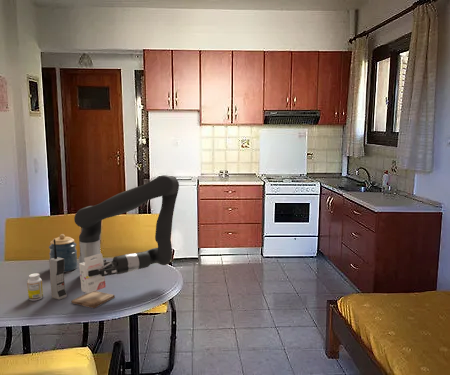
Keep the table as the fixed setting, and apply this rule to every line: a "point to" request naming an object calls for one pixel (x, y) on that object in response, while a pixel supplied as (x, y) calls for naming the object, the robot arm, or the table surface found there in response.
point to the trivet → (93, 299)
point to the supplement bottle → (35, 287)
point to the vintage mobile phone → (57, 276)
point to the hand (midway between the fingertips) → (86, 271)
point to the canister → (65, 251)
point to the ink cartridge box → (94, 281)
